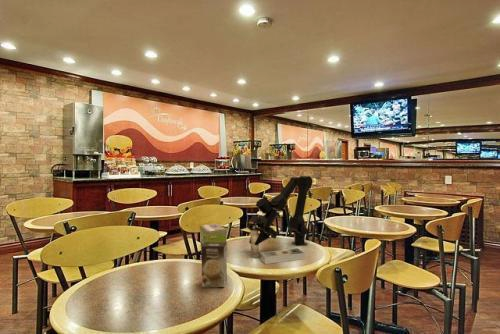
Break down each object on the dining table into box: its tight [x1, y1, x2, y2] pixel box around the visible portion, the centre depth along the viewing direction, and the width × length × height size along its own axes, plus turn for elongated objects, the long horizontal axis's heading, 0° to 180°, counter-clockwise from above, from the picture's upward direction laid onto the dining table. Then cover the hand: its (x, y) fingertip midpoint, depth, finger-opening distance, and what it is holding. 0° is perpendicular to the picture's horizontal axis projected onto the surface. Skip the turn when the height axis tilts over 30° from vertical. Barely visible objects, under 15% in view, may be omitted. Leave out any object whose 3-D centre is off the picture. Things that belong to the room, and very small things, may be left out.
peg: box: [250, 230, 260, 259], centre depth 147 cm, size 4×4×13 cm
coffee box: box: [200, 242, 228, 288], centre depth 115 cm, size 9×6×16 cm
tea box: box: [199, 223, 228, 254], centre depth 152 cm, size 15×10×15 cm, turn 25°
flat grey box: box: [259, 248, 306, 265], centre depth 143 cm, size 8×20×3 cm, turn 106°
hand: (252, 244), depth 146 cm, fingers closed on peg, 4 cm apart
